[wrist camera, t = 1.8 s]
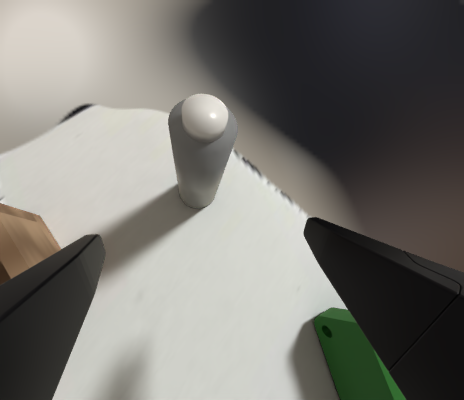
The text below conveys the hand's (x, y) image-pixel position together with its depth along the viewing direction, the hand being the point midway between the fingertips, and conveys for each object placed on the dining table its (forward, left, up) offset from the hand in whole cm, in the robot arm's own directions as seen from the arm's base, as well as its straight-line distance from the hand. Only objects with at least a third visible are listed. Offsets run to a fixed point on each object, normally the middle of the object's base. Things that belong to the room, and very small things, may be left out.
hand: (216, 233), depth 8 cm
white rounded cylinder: (+4, -6, -13) cm, 14 cm away
